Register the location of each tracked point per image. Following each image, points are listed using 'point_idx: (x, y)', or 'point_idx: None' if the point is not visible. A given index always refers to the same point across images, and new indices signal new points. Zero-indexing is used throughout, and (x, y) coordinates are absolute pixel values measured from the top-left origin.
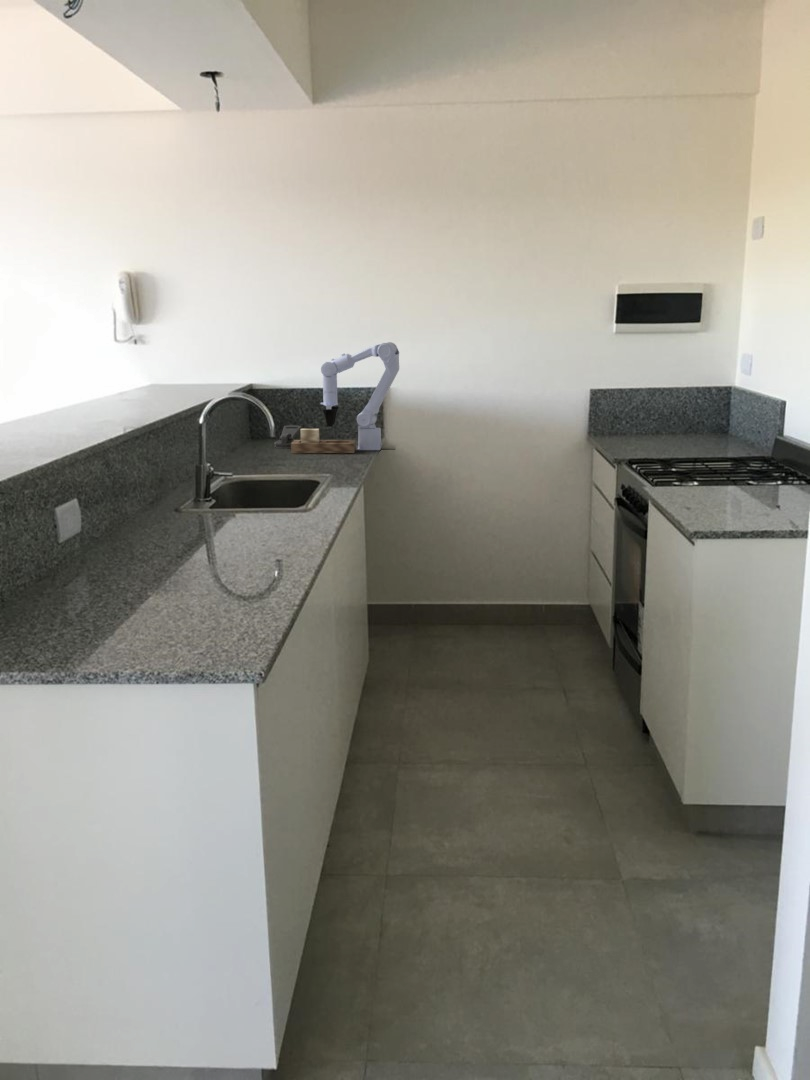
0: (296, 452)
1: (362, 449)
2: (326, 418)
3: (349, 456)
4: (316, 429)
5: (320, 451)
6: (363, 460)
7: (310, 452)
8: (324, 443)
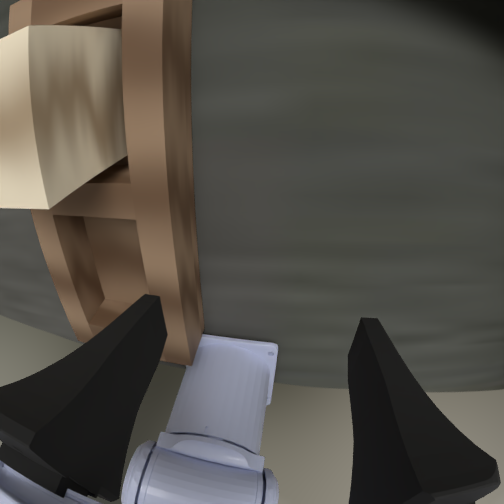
0: None
1: None
2: (85, 353)
3: (41, 286)
4: (5, 191)
5: None
6: (7, 313)
7: None
8: (32, 211)
